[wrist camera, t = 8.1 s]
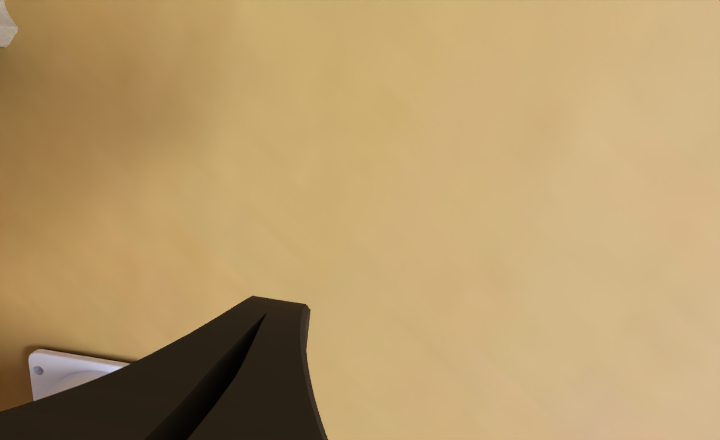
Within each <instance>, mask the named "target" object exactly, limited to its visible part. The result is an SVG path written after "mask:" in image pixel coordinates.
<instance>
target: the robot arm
mask: <svg viewBox="0 0 720 440" xmlns="http://www.w3.org/2000/svg"><path fill="white" fill-rule="evenodd" d="M309 319H310V309H309V307H308V306H307V305H306V304H301V303H294V302H288V301H282V300H275V299H269V298H263V297H256V296H251V297H250V298H248V299H246V300H244V301H243V302H241V303H239V304H238V305H236V306H234V307H233V308H231V309H230V310H228V311H226V312H225V313H223V314H222V315H220V316H218V317H217V318H215V319H213V320H212V321H210V322H208V323H207V324H205V325H203V326H202V327H200V328H198V329H196V330H195V331H193V332H191V333H190V334H188V335H186V336H184V337H182V338H180V339H178V340H177V341H175V342H173V343H171V344H169V345H167V346H165V347H163V348H161V349H160V350H158V351H156V352H154V353H152V354H150V355H148V356H146V357H144V358H142V359H140V360H138V361H136V362H134V363H131V364H130V363H124V362H118V361H112V360H105V359H99V358H93V357H87V356H81V355H75V354H69V353H63V352H57V351H51V350H45V349H37V350H35V351H34V352H32V353H31V354H30V355H29V358H28V361H29V369H30V377H31V385H32V393H33V402H30V403H27V404H24V405H21V406H18V407H15V408H12V409H8V410H5V411H2V412H0V440H328V438H327V436H326V433H325V430H324V427H323V424H322V421H321V418H320V415H319V412H318V408H317V405H316V401H315V397H314V393H313V389H312V384H311V380H310V375H309V369H308V363H307V353H306V347H307V338H308V328H309Z"/></svg>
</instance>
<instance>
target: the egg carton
mask: <svg viewBox="0 0 720 440" xmlns="http://www.w3.org/2000/svg"><path fill="white" fill-rule="evenodd" d="M17 30H18V28H17V26H16V25H15V23H14V22H13V20H12V19H11V17H10V16H9V14H8V12H7V9H6V7H5V3H4V0H0V47H8V45H9V44H10V43H11V41H12V39H13V37H14V36H15V34H16V33H17Z"/></svg>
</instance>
